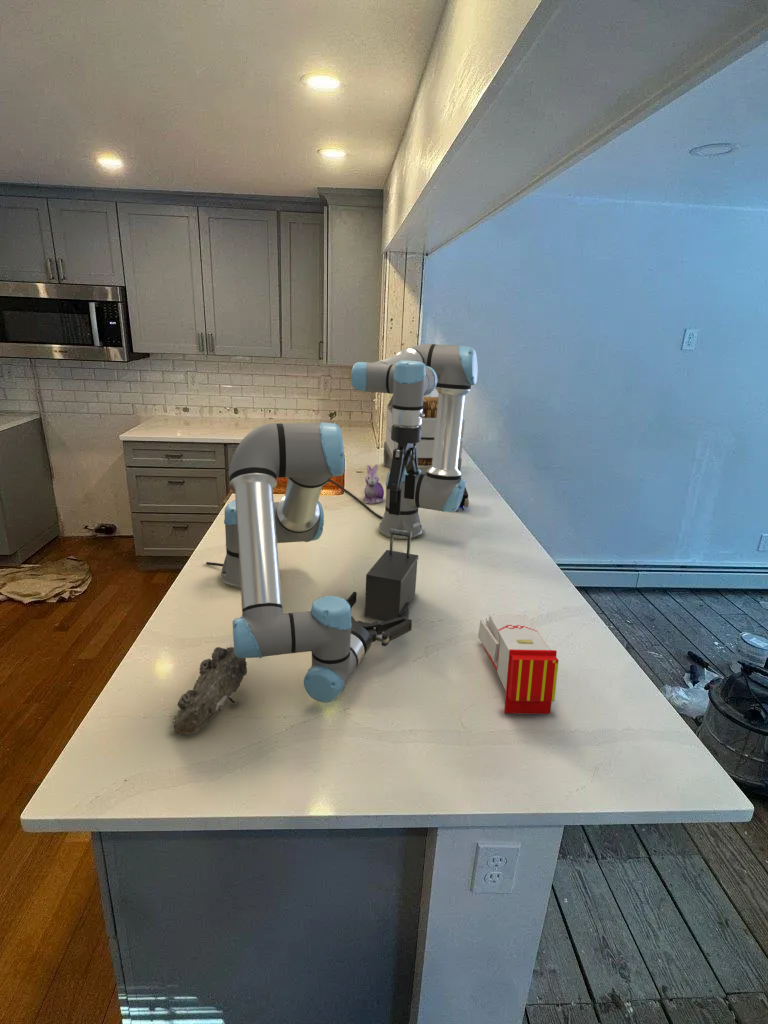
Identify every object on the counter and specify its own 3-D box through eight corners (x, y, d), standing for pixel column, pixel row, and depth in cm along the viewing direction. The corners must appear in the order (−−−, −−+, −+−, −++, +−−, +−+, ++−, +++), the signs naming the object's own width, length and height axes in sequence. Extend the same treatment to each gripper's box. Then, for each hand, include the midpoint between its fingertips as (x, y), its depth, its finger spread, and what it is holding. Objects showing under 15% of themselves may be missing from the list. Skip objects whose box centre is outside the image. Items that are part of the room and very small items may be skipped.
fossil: (197, 648, 121) (247, 617, 116) (228, 678, 124) (278, 648, 119) (149, 728, 102) (207, 694, 97) (187, 761, 105) (245, 730, 100)
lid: (386, 553, 157) (387, 523, 154) (418, 559, 155) (420, 528, 152) (365, 578, 142) (367, 546, 139) (400, 585, 139) (402, 552, 136)
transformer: (382, 463, 289) (386, 382, 275) (445, 464, 293) (451, 384, 279) (390, 482, 257) (394, 392, 243) (460, 483, 261) (468, 394, 247)
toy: (524, 600, 137) (567, 656, 108) (520, 651, 140) (560, 720, 111) (474, 599, 137) (504, 655, 107) (471, 650, 140) (498, 719, 110)
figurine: (368, 505, 226) (369, 469, 221) (357, 498, 235) (358, 463, 230) (389, 503, 230) (391, 467, 225) (378, 495, 239) (379, 461, 234)
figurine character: (468, 516, 224) (463, 500, 237) (471, 498, 221) (465, 483, 234) (452, 515, 224) (447, 499, 237) (453, 498, 220) (449, 482, 234)
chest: (383, 589, 160) (385, 554, 156) (415, 595, 158) (417, 560, 154) (364, 616, 146) (365, 578, 142) (398, 623, 143) (400, 585, 139)
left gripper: (296, 649, 126) (333, 605, 145) (404, 674, 119) (428, 625, 138) (296, 619, 123) (334, 579, 142) (406, 644, 116) (430, 597, 135)
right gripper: (407, 436, 128) (402, 523, 136) (432, 418, 151) (427, 494, 158) (376, 433, 131) (372, 519, 138) (405, 415, 153) (401, 490, 160)
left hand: (380, 601), depth 140 cm, fingers open, 13 cm apart
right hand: (402, 506), depth 148 cm, fingers open, 13 cm apart
